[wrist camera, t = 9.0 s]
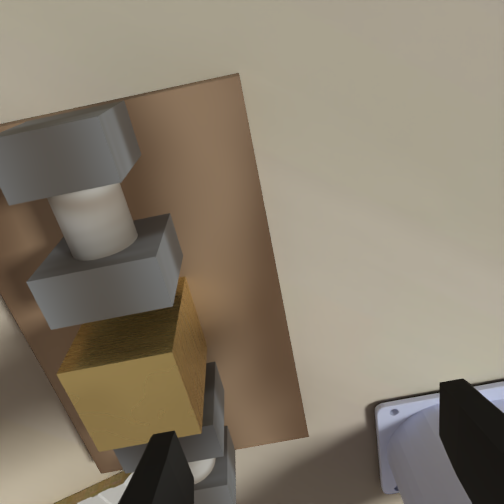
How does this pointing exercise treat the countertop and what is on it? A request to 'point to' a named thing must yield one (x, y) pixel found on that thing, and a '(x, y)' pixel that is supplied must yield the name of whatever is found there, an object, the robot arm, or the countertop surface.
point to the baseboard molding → (101, 491)
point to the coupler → (139, 374)
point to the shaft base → (213, 262)
